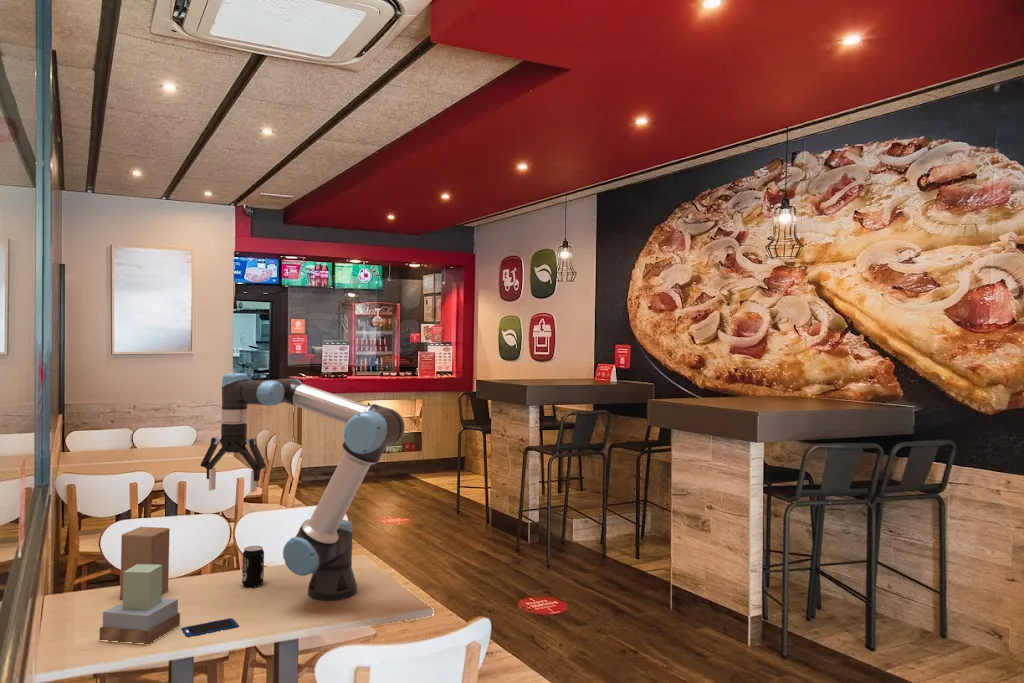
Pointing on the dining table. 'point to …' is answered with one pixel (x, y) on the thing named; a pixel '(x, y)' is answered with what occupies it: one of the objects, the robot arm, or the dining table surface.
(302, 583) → the dining table surface
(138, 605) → the sage block
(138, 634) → the walnut base block
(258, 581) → the beverage can
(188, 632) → the cell phone
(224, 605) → the dining table surface
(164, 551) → the wooden block
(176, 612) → the slate top block
